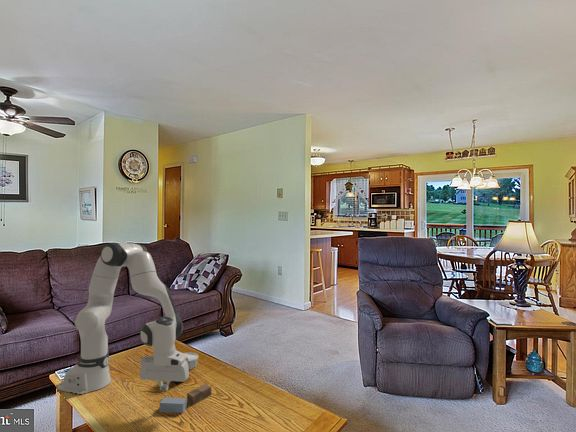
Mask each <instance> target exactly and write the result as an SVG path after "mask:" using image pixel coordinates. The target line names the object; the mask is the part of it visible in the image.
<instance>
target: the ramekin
mask: <svg viewBox="0 0 576 432" xmlns="http://www.w3.org/2000/svg"><path fill="white" fill-rule="evenodd" d="M183 353H184V354H186V355H187V358H188V359H189V361H188V367H189V371H190V370H193V369H195V368H196V367H197V364H198V360H199V354H197V353H196V352H183ZM194 367H195V368H194Z"/></svg>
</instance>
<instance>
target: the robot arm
mask: <svg viewBox="0 0 576 432" xmlns="http://www.w3.org/2000/svg"><path fill="white" fill-rule="evenodd" d="M122 267H127V268H128V271H129V272H128V273H129V278H130V285H131V287H132V290H134V291H135V292H136V293H137V294H139V295H141V296H145V297H152V298H155V299H157V300H158V301H159V302H160V305H161V307H162V310H163V313H164V315H165V316H160V317H157V318H156V319H155V320H154V321H150V322H146V323H145V324H143V325H142V326H141V328H140V331H139V340H140V342H141V343H142V344H143V345H145V346H147V347H152V348H153V350H152V351H153V352H152V355H151V356H150V355H149V356H148V355H144V356H142V357H141V358H140V368H139V378H140V379H141V380H145V381H147V380H149V381H157V384H158V386H159V390H160V391H168V390H169V385H170V383H171V382H172V381H179V382H184V381H185V380H186V381H187V379H188V378H189V375H190V370H189V367H188V363H187V361H186V358H187V355H186V354H184V353H185V352H181V351H179V350H177V349H176V345H175V343H176V340H177V339H178V338H180V336H181V335H182V334H183V331H184V323H183V321H182V318H181V317H180V315H179V314H178V311H177V308H176V305H175V303H174V301H173V298H172V296H171V292H170V290H169V288H168V286H167V285H166V284H165V283H164V282H162V281H161V279H160V278H159V277H158V273H157V269H156V266H155V262H154V260H153V257H152V255H151V253H150V252H148V249H147V247H145V246H144V245H143V244H140V243H133V242H111V243H107V244H105V245H104V246H103V247H102V248H101V251H100V255H99V258H98V260H97V261H96V264H95V267H94V269H93V272H92V276H91V279H90V282H89V287H88V300H87V303H86V305H85V307H83V308H82V309H81V310H80V311H79V312H78V314H77V315H76V318H75V320H74V326H75V328H76V329H77V330H78V334H79V338H80V355H79V356H78V357H76V358H75V362H76V364H75V365H74V366H72V367H71V368H70V369H69V370H67V372H65V374H64V376H63V381H61V382H60V383H59V384H58V385H57V387H56V390H58V391H61V392H66V393H70V392H73V393H72V394H75V393H77V394H76V395H79V394H82V395H85V394H87V393H90V392H94V391H97V390H98V391H99V390H100V389H101V390H102V389H103V388H105V387H107V386H108V385H110V383H112V377H111V374H110V368H109V362H110V355H109V348H108V347H109V346H108V345H109V343H108V342H109V338H108V337H109V336H108V334H107V332H106V327H105V325H106V324H105V323H106V321H107V319H108V318H109V317H110V315H111V314H112V309H113V303H114V297H115V296H114V295H115V291H116V287H117V284H118V280H119V275H120V272H121V269H122ZM163 381H165V383H164V382H163ZM186 381H185V382H186ZM185 382H184V383H185ZM84 393H85V394H84Z"/></svg>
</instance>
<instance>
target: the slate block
mask: <svg viewBox="0 0 576 432" xmlns="http://www.w3.org/2000/svg"><path fill="white" fill-rule="evenodd" d="M187 405H188V402H187V397H185V398H184V397H168V396H167V397H165V396H164V397H163V398H161V400H160V402H159V412H160V413H175V414H184V412H185V410H186V409H187V408H188V406H187Z"/></svg>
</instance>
